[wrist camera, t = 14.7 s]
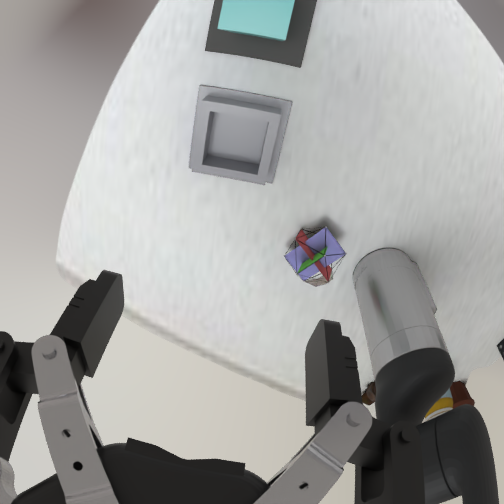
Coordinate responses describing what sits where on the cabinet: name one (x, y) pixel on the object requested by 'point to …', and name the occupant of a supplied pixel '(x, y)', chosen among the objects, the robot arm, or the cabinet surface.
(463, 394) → the muffin
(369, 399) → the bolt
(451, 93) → the cabinet surface
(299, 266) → the geometric puzzle
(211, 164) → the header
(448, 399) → the bottle
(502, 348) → the box
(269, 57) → the mat
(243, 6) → the teal block
